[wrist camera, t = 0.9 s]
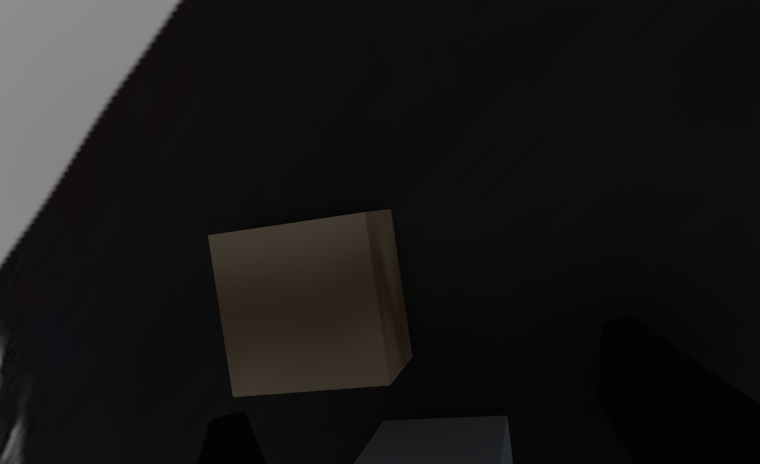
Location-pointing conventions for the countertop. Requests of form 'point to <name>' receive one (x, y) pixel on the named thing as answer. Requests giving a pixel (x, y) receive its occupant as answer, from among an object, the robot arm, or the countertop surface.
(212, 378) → the countertop surface
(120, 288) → the countertop surface
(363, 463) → the blue-grey cube
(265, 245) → the oak block
